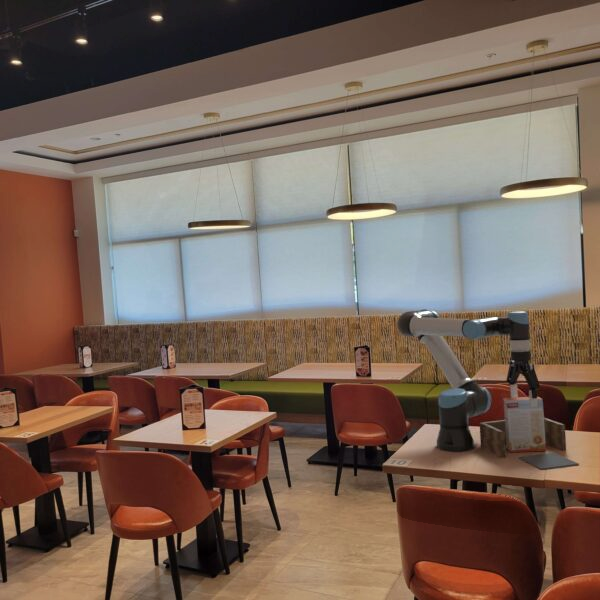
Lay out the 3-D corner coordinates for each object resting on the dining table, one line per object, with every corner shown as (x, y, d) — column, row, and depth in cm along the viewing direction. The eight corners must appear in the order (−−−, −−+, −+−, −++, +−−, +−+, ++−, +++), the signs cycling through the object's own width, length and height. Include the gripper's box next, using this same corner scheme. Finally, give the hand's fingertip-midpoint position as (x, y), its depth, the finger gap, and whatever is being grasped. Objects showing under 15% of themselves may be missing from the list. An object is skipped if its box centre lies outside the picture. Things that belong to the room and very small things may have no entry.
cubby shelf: (480, 446, 238) (479, 422, 238) (541, 439, 243) (539, 416, 243) (502, 457, 221) (500, 432, 221) (566, 449, 226) (564, 424, 226)
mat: (518, 458, 220) (518, 456, 220) (553, 453, 223) (553, 452, 223) (541, 469, 205) (541, 468, 205) (578, 465, 208) (578, 463, 208)
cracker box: (541, 447, 232) (538, 395, 232) (546, 451, 226) (543, 398, 226) (505, 448, 234) (502, 397, 233) (509, 452, 228) (506, 400, 227)
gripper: (547, 352, 217) (551, 408, 218) (512, 347, 242) (515, 397, 242) (529, 354, 216) (533, 410, 216) (495, 348, 241) (499, 399, 241)
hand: (523, 403), depth 229 cm, fingers open, 13 cm apart
